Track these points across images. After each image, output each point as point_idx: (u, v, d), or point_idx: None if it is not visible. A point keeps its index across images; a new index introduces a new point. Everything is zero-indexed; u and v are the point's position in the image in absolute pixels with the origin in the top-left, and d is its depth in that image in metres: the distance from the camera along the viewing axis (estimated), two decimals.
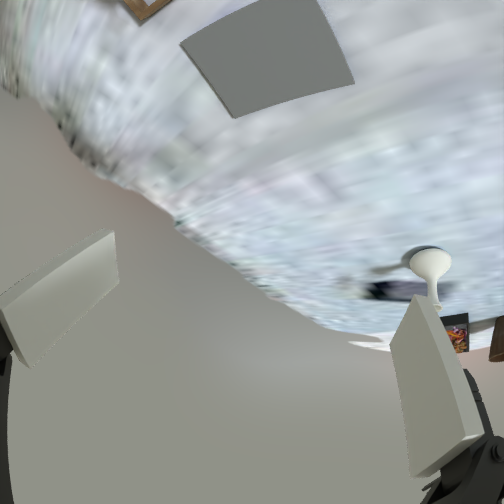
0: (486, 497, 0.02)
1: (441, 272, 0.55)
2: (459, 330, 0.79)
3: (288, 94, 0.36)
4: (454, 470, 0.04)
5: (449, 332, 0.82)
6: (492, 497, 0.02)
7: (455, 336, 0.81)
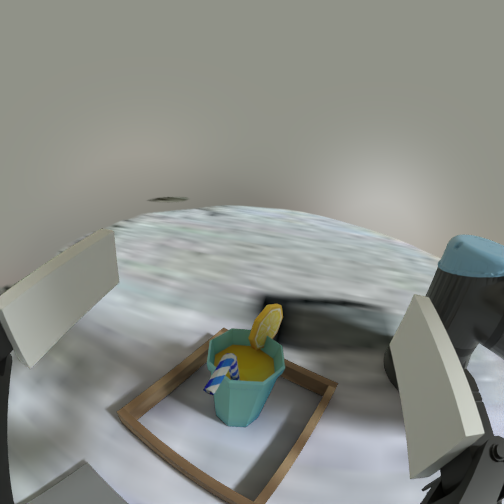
0: (486, 497, 0.02)
1: None
2: None
3: None
4: (454, 470, 0.04)
5: None
6: (492, 497, 0.02)
7: None
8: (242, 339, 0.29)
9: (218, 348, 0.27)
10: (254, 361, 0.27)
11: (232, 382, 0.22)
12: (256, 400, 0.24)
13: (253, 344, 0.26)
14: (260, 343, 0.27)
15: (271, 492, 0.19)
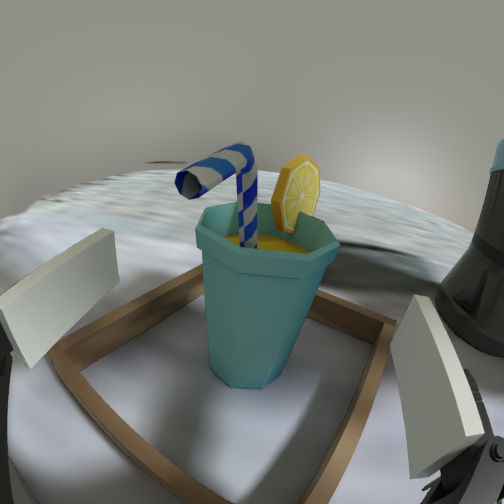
0: (486, 497, 0.02)
1: None
2: None
3: None
4: (454, 470, 0.04)
5: None
6: (492, 497, 0.02)
7: None
8: (258, 222, 0.18)
9: (218, 229, 0.17)
10: None
11: (244, 253, 0.12)
12: (287, 317, 0.14)
13: (279, 214, 0.16)
14: (289, 220, 0.17)
15: None
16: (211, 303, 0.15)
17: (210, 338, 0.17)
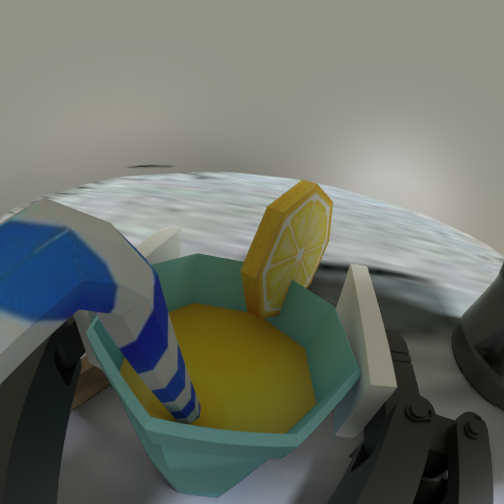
0: (409, 461, 0.04)
1: None
2: None
3: None
4: (371, 434, 0.06)
5: None
6: (417, 460, 0.04)
7: None
8: (221, 289, 0.11)
9: None
10: (252, 352, 0.09)
11: (160, 428, 0.04)
12: (252, 470, 0.07)
13: (254, 295, 0.09)
14: (273, 298, 0.09)
15: None
16: (135, 425, 0.08)
17: (145, 447, 0.09)
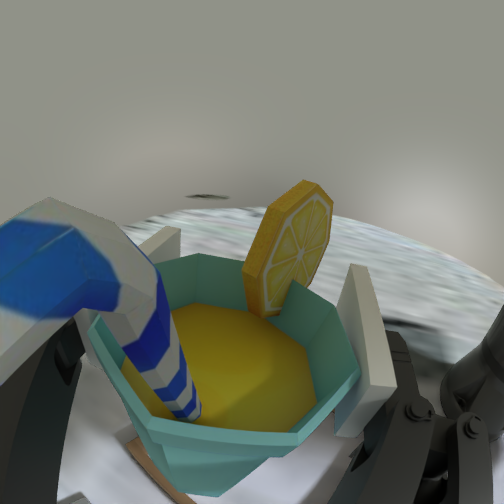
0: (409, 461, 0.04)
1: None
2: None
3: None
4: (372, 434, 0.06)
5: None
6: (417, 460, 0.04)
7: None
8: (222, 289, 0.11)
9: None
10: (252, 352, 0.09)
11: (161, 428, 0.04)
12: (253, 469, 0.07)
13: (255, 295, 0.09)
14: (274, 298, 0.09)
15: None
16: (136, 425, 0.08)
17: (146, 447, 0.09)
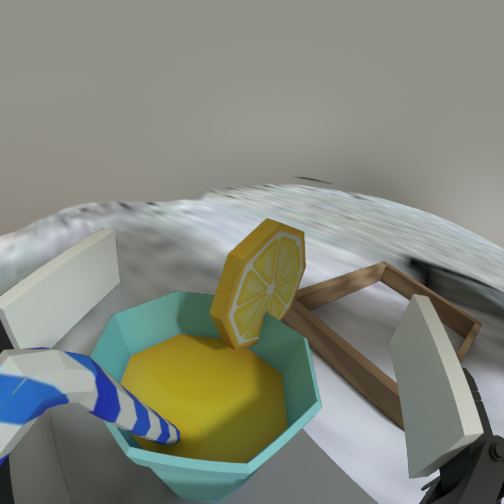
0: (485, 496, 0.02)
1: None
2: None
3: None
4: (453, 469, 0.04)
5: None
6: (491, 496, 0.02)
7: None
8: (203, 321, 0.11)
9: (139, 340, 0.10)
10: (230, 380, 0.10)
11: (138, 455, 0.05)
12: (233, 483, 0.07)
13: (225, 333, 0.09)
14: (247, 331, 0.10)
15: None
16: None
17: None
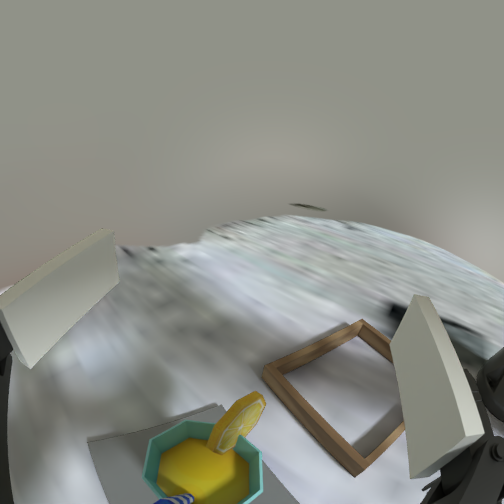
0: (486, 497, 0.02)
1: None
2: None
3: None
4: (454, 470, 0.04)
5: None
6: (492, 497, 0.02)
7: None
8: (202, 433, 0.16)
9: (165, 446, 0.15)
10: (219, 467, 0.14)
11: None
12: None
13: (215, 452, 0.14)
14: (228, 446, 0.15)
15: (379, 454, 0.21)
16: None
17: None
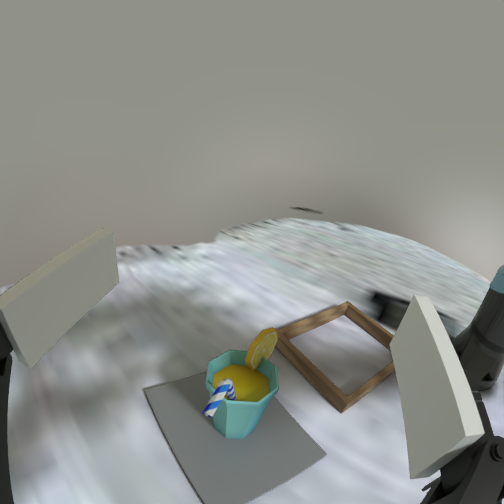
0: (486, 497, 0.02)
1: None
2: None
3: (180, 447, 0.27)
4: (454, 470, 0.04)
5: None
6: (492, 497, 0.02)
7: None
8: (239, 359, 0.30)
9: (216, 368, 0.28)
10: (250, 380, 0.28)
11: (229, 402, 0.23)
12: (251, 417, 0.26)
13: (249, 365, 0.27)
14: (256, 364, 0.28)
15: (358, 394, 0.35)
16: None
17: (214, 417, 0.28)
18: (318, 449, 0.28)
